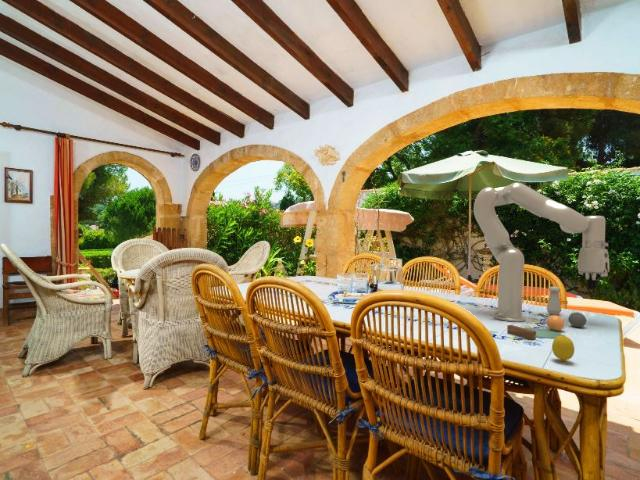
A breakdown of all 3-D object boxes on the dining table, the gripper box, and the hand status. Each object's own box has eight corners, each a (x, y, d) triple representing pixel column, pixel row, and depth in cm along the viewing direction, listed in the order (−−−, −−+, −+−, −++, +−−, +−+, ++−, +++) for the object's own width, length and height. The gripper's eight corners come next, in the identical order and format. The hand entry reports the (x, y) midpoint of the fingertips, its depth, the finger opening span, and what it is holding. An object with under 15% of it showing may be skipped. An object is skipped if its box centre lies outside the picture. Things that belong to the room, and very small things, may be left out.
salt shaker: (564, 315, 171) (564, 287, 171) (551, 315, 171) (552, 287, 171) (556, 313, 177) (556, 286, 177) (544, 312, 177) (544, 285, 177)
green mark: (546, 340, 132) (546, 339, 132) (511, 330, 144) (511, 329, 144) (570, 335, 137) (570, 335, 137) (535, 326, 150) (535, 326, 150)
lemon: (577, 365, 107) (578, 338, 106) (556, 363, 108) (557, 336, 107) (568, 359, 112) (569, 332, 112) (548, 357, 113) (549, 331, 113)
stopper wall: (532, 340, 131) (532, 331, 131) (507, 333, 140) (507, 325, 140) (535, 339, 132) (536, 331, 132) (510, 332, 141) (511, 324, 141)
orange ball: (558, 333, 141) (558, 317, 141) (543, 329, 146) (543, 314, 146) (568, 331, 143) (568, 316, 143) (552, 328, 149) (553, 313, 149)
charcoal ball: (580, 329, 147) (580, 314, 146) (564, 326, 152) (565, 311, 152) (589, 328, 149) (589, 313, 149) (573, 324, 155) (574, 310, 154)
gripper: (619, 246, 149) (617, 291, 149) (579, 244, 162) (578, 286, 163) (608, 246, 145) (607, 292, 146) (569, 244, 159) (568, 287, 159)
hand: (592, 289), depth 154 cm, fingers closed
